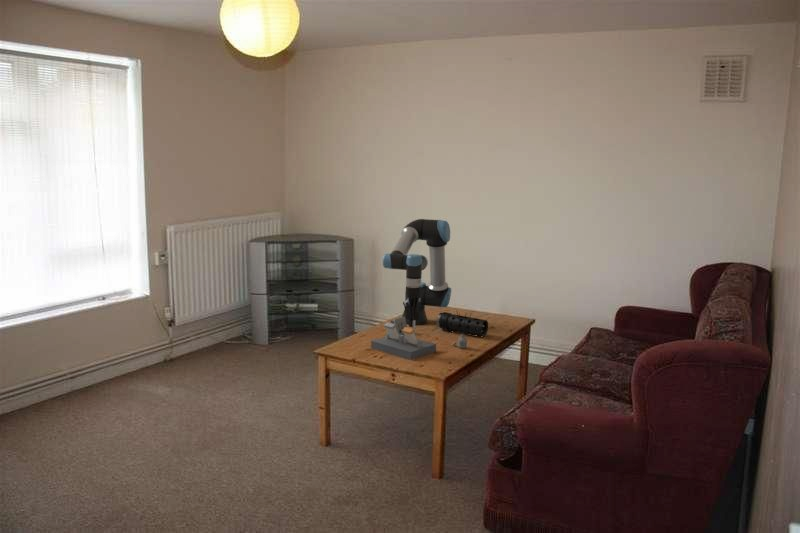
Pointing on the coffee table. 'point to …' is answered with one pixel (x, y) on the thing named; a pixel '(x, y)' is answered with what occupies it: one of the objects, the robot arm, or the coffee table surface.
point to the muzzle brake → (462, 324)
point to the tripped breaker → (410, 336)
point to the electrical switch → (400, 324)
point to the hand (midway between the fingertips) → (412, 332)
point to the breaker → (392, 331)
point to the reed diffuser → (462, 340)
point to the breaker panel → (403, 347)
